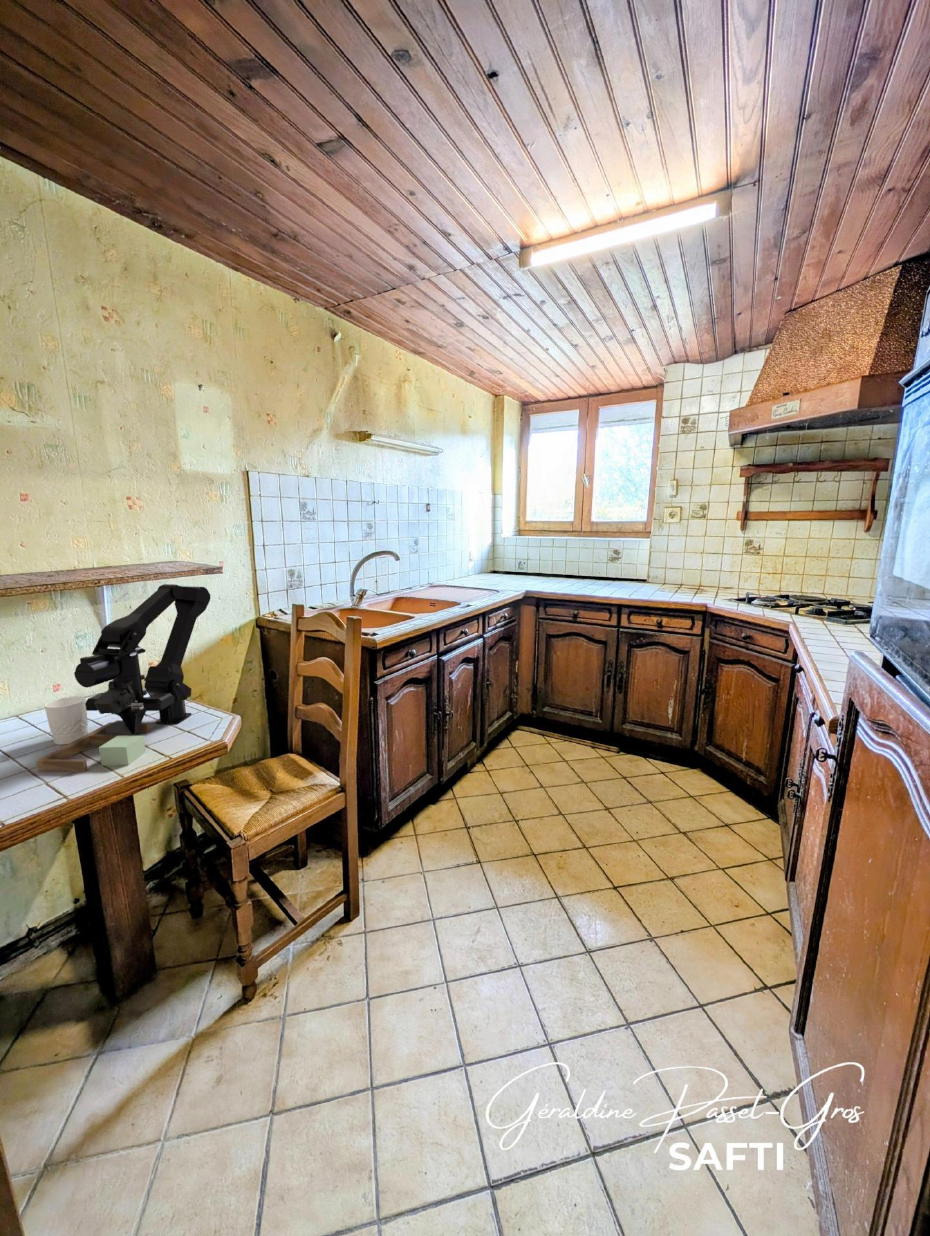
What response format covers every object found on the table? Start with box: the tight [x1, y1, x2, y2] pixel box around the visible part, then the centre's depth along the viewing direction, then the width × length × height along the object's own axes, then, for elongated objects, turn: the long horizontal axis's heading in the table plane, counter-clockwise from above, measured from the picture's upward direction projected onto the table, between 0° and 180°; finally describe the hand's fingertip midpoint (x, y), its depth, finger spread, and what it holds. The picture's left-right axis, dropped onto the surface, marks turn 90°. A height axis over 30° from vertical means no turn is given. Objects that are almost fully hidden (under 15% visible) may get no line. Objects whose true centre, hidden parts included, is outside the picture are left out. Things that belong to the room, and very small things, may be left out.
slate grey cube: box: [105, 719, 135, 736], centre depth 120 cm, size 4×4×4 cm
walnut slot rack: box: [35, 721, 151, 773], centre depth 114 cm, size 21×10×2 cm, turn 179°
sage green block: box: [98, 735, 147, 766], centre depth 109 cm, size 6×6×4 cm
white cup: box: [44, 695, 89, 746], centre depth 119 cm, size 8×8×10 cm
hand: (134, 733), depth 120 cm, fingers closed
